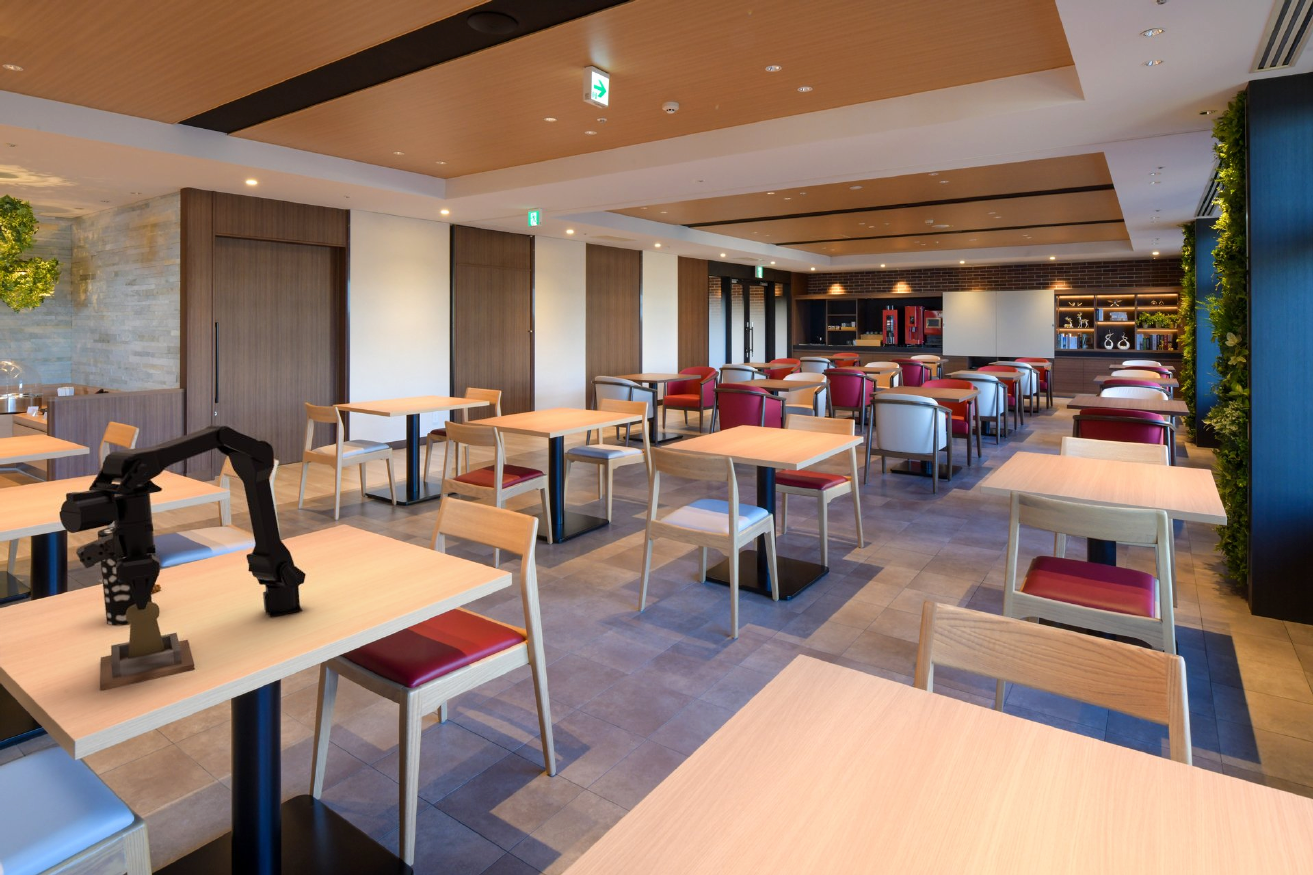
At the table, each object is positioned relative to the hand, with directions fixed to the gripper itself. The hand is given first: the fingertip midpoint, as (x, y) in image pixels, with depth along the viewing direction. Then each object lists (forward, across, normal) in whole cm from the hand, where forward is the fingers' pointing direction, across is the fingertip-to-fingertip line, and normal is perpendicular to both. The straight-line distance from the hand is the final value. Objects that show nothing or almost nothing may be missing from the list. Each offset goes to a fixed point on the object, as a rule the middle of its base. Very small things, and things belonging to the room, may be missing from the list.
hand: (140, 602), depth 137 cm
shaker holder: (+12, 0, 0) cm, 12 cm away
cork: (+12, 0, 0) cm, 12 cm away
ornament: (+13, -47, -1) cm, 49 cm away
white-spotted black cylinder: (+13, -31, -2) cm, 34 cm away
